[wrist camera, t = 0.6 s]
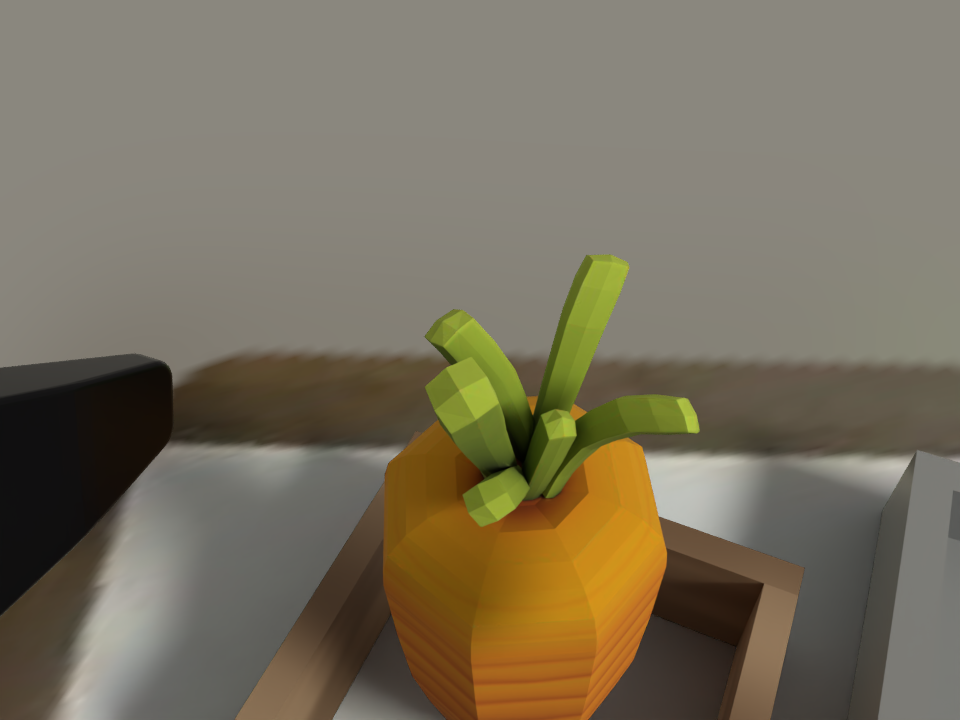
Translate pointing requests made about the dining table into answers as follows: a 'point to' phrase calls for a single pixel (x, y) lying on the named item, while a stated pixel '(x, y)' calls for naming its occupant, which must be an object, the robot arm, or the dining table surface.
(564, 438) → the carrot
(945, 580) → the grey tray
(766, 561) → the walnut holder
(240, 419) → the dining table surface
